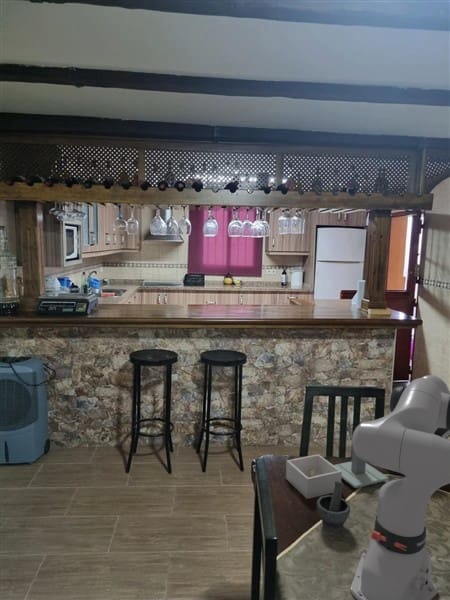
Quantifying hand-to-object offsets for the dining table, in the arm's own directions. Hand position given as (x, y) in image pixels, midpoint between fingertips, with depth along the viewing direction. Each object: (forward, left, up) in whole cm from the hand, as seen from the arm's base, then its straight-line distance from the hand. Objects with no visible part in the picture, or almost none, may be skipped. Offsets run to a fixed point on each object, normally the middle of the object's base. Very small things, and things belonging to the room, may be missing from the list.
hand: (383, 444), depth 160 cm
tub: (-26, +15, -11) cm, 32 cm away
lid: (-10, +5, -11) cm, 16 cm away
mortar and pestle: (-42, -1, -11) cm, 44 cm away
